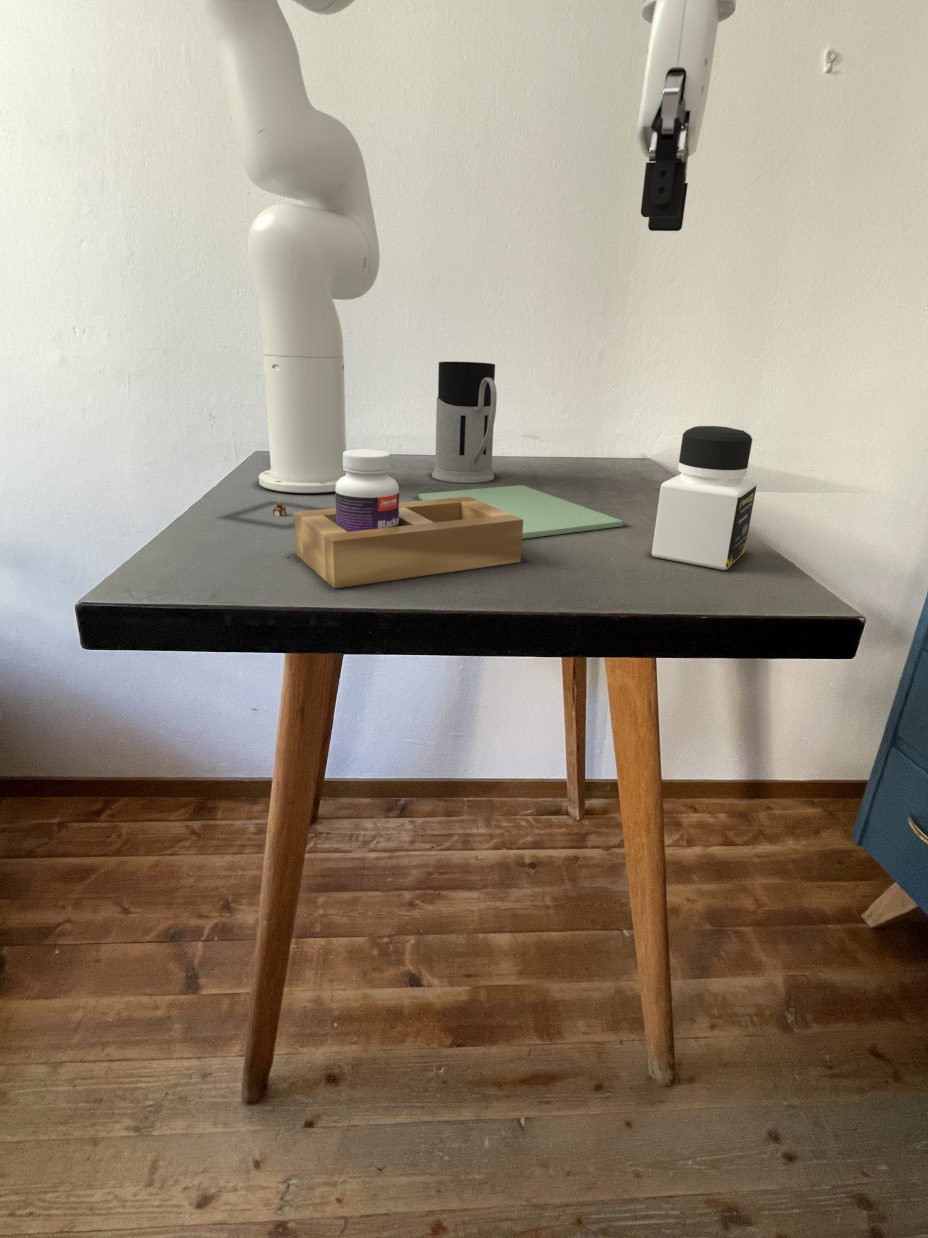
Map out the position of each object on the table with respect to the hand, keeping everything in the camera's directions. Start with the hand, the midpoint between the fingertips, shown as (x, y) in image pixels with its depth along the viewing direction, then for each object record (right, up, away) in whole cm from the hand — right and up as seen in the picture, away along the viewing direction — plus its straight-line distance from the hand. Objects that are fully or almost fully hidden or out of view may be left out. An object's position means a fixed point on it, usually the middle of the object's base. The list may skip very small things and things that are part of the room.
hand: (662, 223), depth 67 cm
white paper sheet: (-38, -25, +13) cm, 48 cm away
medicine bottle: (+4, -30, +4) cm, 31 cm away
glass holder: (-17, -17, +33) cm, 42 cm away
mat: (-12, -24, +18) cm, 32 cm away
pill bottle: (-27, -31, -2) cm, 41 cm away
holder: (-23, -31, -1) cm, 38 cm away
